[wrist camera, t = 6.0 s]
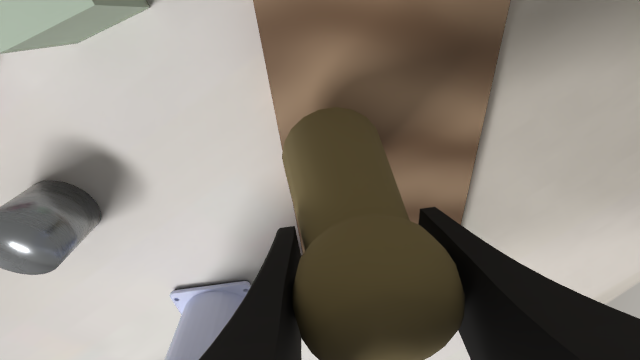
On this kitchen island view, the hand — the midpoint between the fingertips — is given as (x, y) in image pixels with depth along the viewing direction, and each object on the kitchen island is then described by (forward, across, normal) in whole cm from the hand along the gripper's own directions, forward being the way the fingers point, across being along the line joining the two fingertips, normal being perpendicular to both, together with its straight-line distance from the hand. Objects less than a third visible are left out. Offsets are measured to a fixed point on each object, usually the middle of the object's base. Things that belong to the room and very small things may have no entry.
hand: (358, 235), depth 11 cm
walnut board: (+10, -4, +1) cm, 11 cm away
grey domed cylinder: (+10, +22, +3) cm, 24 cm away
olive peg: (+7, 0, 0) cm, 7 cm away
